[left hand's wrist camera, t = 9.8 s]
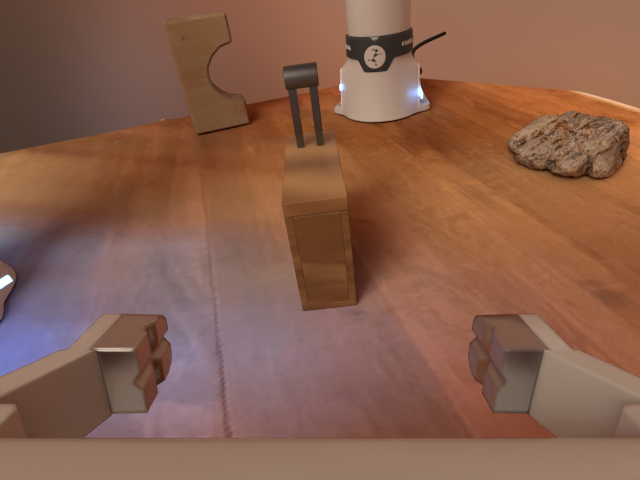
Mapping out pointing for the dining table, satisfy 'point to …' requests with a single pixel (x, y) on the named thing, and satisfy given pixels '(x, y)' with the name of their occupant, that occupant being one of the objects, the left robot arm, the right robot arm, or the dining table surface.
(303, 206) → the lid
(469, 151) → the dining table surface
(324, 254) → the chest
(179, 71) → the decorative block
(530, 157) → the rock
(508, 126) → the dining table surface
